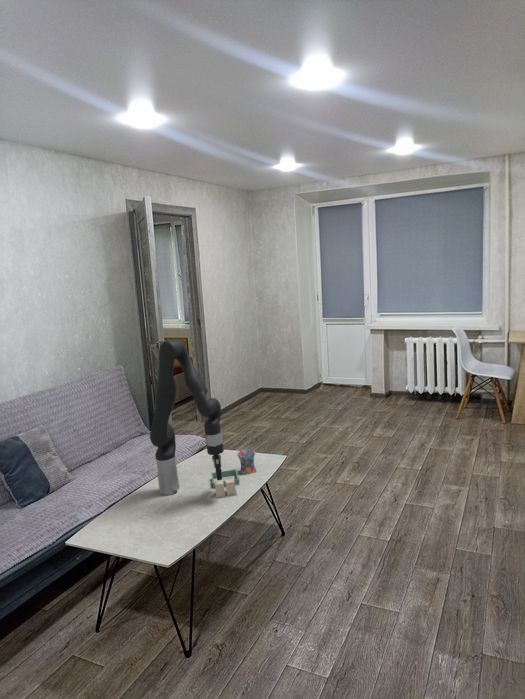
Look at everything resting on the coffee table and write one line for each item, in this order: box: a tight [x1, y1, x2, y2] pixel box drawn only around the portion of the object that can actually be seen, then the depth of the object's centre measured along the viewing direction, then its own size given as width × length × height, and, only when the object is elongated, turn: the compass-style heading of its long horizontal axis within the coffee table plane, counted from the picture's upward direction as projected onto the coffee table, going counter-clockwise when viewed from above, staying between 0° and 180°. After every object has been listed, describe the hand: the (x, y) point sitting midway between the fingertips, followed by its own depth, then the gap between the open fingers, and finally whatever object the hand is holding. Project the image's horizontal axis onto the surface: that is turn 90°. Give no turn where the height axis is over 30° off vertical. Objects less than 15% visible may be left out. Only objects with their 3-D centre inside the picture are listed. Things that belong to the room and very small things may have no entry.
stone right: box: [224, 478, 237, 496], centre depth 233 cm, size 4×4×6 cm
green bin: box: [210, 469, 240, 490], centre depth 247 cm, size 13×13×4 cm
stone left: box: [214, 479, 226, 497], centre depth 232 cm, size 4×4×6 cm
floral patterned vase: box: [236, 449, 257, 475], centre depth 258 cm, size 12×9×11 cm
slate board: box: [214, 488, 238, 500], centre depth 233 cm, size 10×7×1 cm
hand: (219, 476), depth 232 cm, fingers open, 8 cm apart
